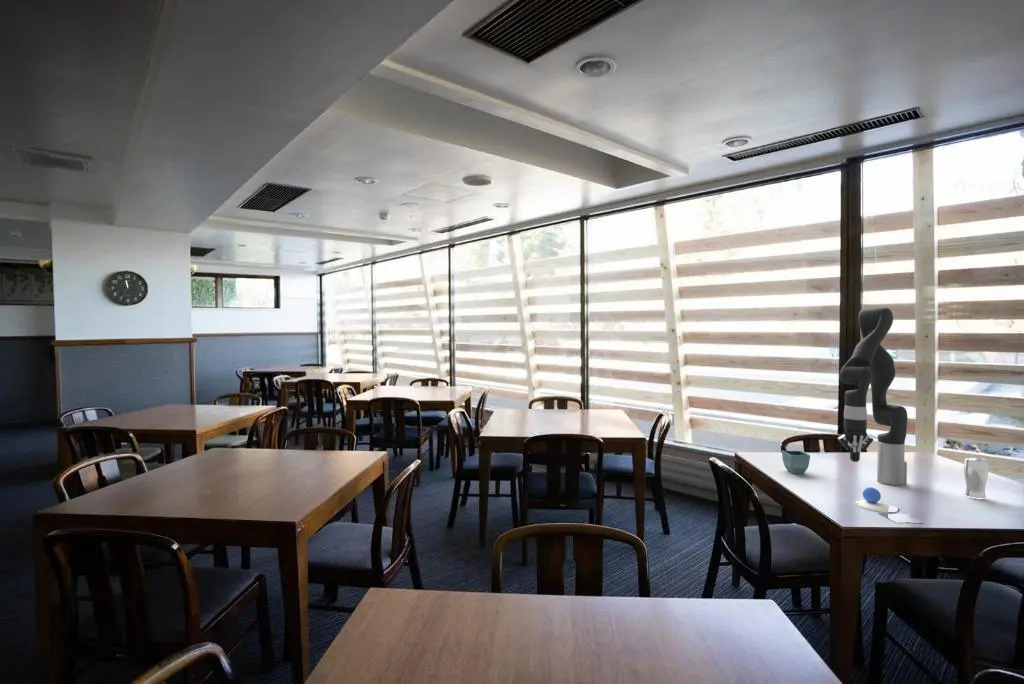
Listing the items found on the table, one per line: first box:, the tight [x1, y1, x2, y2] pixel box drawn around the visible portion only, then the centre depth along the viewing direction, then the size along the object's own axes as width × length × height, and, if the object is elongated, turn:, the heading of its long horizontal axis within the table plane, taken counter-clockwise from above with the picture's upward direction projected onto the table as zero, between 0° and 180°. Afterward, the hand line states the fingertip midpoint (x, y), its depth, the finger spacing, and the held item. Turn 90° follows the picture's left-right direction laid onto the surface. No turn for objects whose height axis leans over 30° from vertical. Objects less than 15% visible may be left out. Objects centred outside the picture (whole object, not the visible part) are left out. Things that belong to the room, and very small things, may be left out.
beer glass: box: [963, 456, 989, 499], centre depth 196 cm, size 7×7×15 cm
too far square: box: [877, 512, 888, 519], centre depth 174 cm, size 9×9×1 cm
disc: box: [855, 499, 893, 513], centre depth 186 cm, size 13×13×1 cm
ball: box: [862, 487, 882, 503], centre depth 191 cm, size 6×6×6 cm
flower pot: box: [781, 450, 811, 474], centre depth 233 cm, size 9×9×9 cm
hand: (854, 461), depth 199 cm, fingers closed
